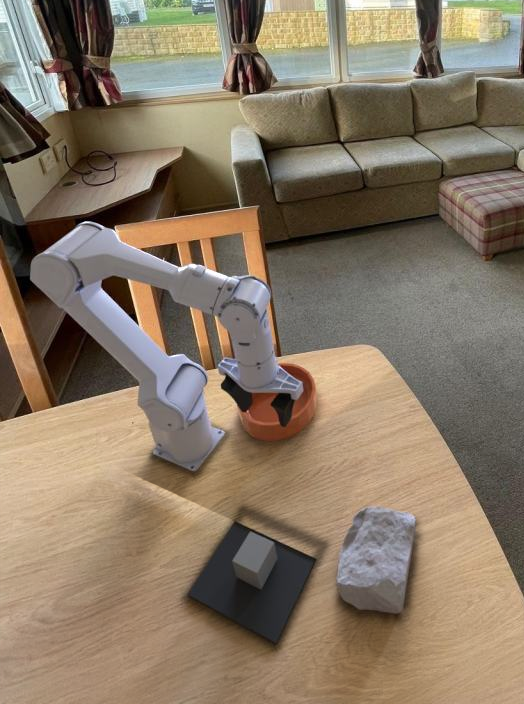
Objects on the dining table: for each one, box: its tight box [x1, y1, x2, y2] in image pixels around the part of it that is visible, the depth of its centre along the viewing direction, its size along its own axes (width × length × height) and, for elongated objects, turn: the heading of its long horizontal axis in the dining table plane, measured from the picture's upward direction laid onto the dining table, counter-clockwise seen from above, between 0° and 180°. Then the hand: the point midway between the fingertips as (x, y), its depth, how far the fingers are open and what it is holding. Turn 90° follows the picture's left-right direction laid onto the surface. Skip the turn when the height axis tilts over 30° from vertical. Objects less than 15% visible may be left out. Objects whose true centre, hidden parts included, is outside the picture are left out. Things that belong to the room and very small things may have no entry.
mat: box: [187, 520, 317, 645], centre depth 67 cm, size 14×12×1 cm
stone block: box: [336, 505, 417, 614], centre depth 67 cm, size 12×5×10 cm
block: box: [232, 532, 277, 589], centre depth 66 cm, size 4×4×4 cm
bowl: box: [236, 362, 318, 442], centre depth 90 cm, size 14×14×4 cm
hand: (266, 414), depth 79 cm, fingers open, 7 cm apart
